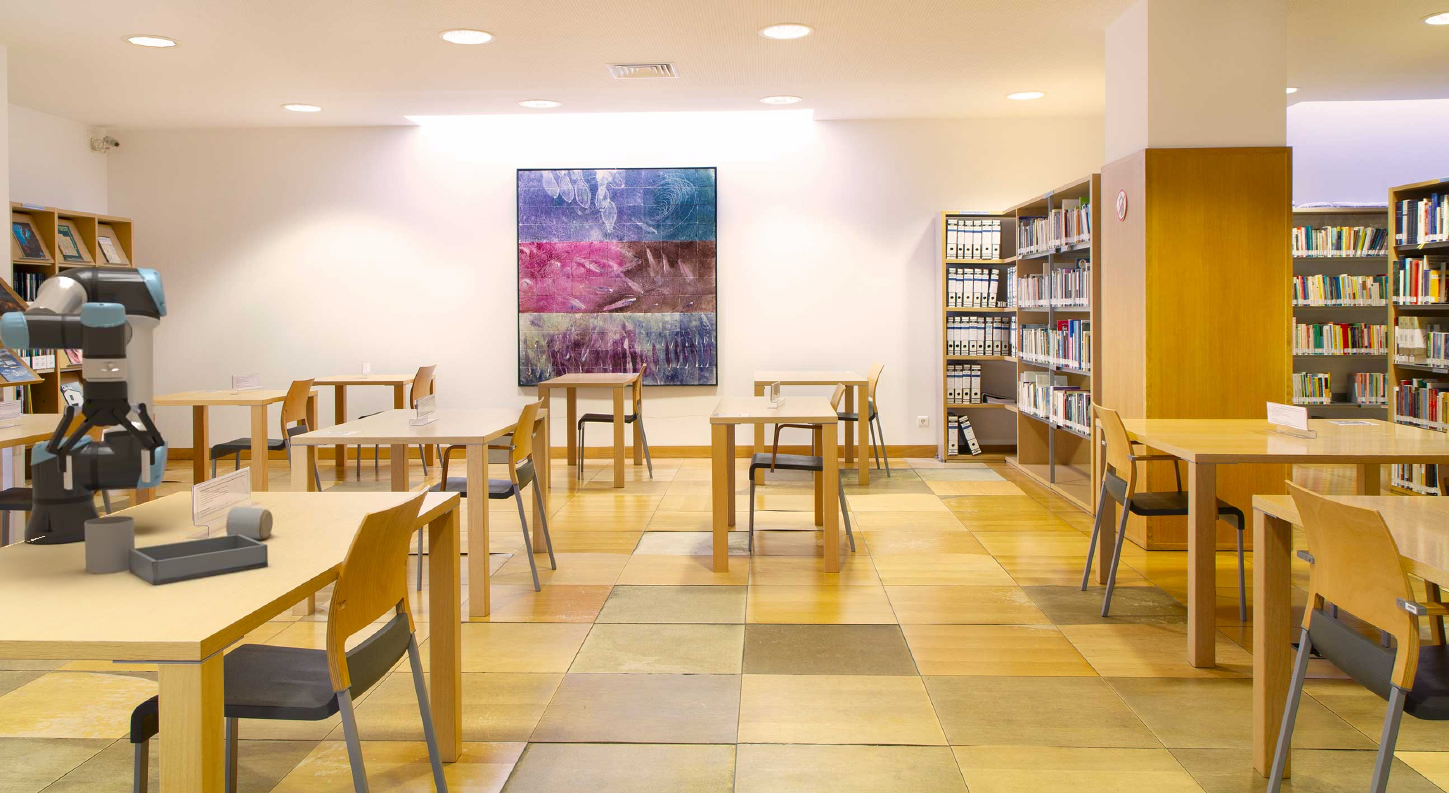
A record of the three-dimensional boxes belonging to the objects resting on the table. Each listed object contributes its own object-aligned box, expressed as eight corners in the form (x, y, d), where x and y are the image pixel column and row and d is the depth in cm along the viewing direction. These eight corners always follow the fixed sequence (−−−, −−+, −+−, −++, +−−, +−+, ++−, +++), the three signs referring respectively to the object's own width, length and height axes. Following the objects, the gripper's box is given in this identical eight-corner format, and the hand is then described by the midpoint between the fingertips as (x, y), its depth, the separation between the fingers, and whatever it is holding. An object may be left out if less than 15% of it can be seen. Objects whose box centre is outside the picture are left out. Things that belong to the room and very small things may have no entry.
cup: (83, 575, 187) (81, 525, 186) (88, 566, 194) (87, 518, 193) (133, 571, 190) (131, 522, 190) (137, 562, 198) (135, 514, 197)
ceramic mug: (262, 542, 217) (262, 509, 217) (225, 542, 217) (225, 509, 216) (279, 533, 228) (279, 502, 228) (244, 533, 227) (243, 502, 227)
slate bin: (129, 571, 190) (129, 549, 190) (239, 554, 206) (239, 533, 205) (154, 585, 180) (153, 562, 180) (267, 566, 195) (267, 544, 195)
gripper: (34, 382, 178) (38, 494, 179) (180, 379, 196) (182, 480, 197) (24, 380, 183) (28, 489, 184) (167, 378, 201) (170, 476, 203)
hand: (108, 485), depth 191 cm, fingers open, 13 cm apart
